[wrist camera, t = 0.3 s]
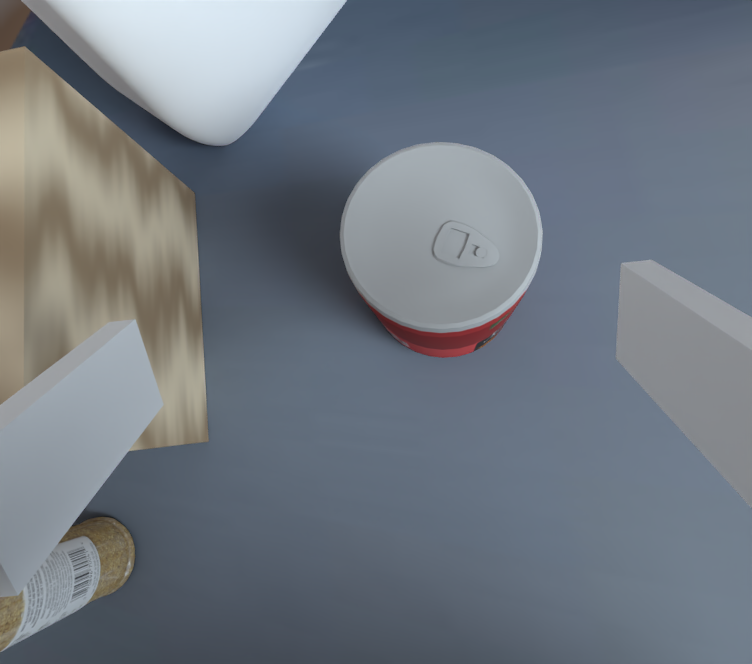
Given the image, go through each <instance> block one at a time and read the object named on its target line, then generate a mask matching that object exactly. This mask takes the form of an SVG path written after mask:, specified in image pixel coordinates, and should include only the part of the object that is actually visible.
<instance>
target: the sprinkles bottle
mask: <svg viewBox="0 0 752 664" xmlns="http://www.w3.org/2000/svg"><path fill="white" fill-rule="evenodd" d="M134 561H135V547H134V543H133V539H132V537H131V535H130V533H129V531H128V530H127V529H126V527H125V526H123V525H122V524H121V523H120V522H118V521H117V520H115V519H113V518H109V517H97V518H92V519H88V520H86V521H84V522H82V523H81V524H79V525H75V526H72V527H70V528H69V530H68V531H67V532H66V534H65V535H64V536H63V537H62V539H61V540H60V541H59V543H58V544H57V545H56V547H55V548H54V549H53V551H52V552H51V553H50V554H49V556H48V557H47V558H46V560H45V561H44V562H43V564H42V565H41V566H40V568H39V569H38V570H37V572H36V573H35V574H34V575H33V577H32V578H31V579H30V581H29V582H28V583H27V585H26V586H25V587H24V589H23V590H22V591H21V593H20V594H19V595H18V596H7V597H0V652H1V651H3V650H5V649H7V648H9V647H11V646H13V645H15V644H16V643H18V642H20V641H22V640H24V639H26V638H28V637H29V636H31V635H33V634H35V633H37V632H39V631H41V630H42V629H44V628H46V627H48V626H50V625H52V624H54V623H56V622H57V621H59V620H61V619H63V618H65V617H67V616H68V615H70V614H72V613H74V612H76V611H78V610H79V609H80V608H82V607H83V606H85V605H86V604H88V603H89V602H91V601H94V600H96V599H98V598H100V597H102V596H106V595H108V594H111V593H113V592H115V591H116V590H117V589H119V588H120V587H121V586H122V585H123V584H124V583H125V582H126V581H127V579H128V578H129V575H130V574H131V572H132V570H133V566H134Z"/></svg>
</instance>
